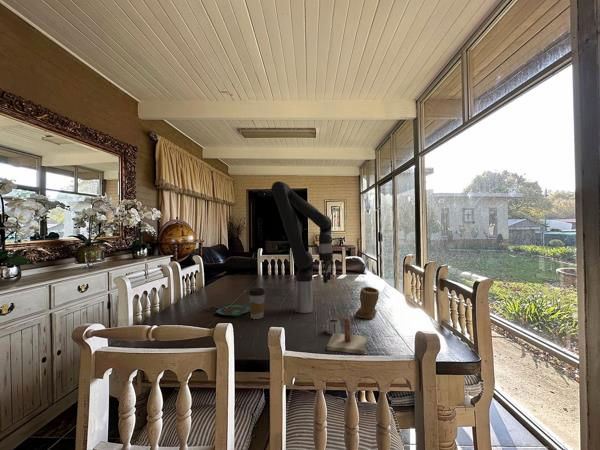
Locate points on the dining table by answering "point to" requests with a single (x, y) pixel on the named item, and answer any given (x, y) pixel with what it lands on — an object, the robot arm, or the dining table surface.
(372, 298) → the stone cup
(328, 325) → the ring
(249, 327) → the dining table surface
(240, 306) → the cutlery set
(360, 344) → the post stand
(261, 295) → the coffee cup
